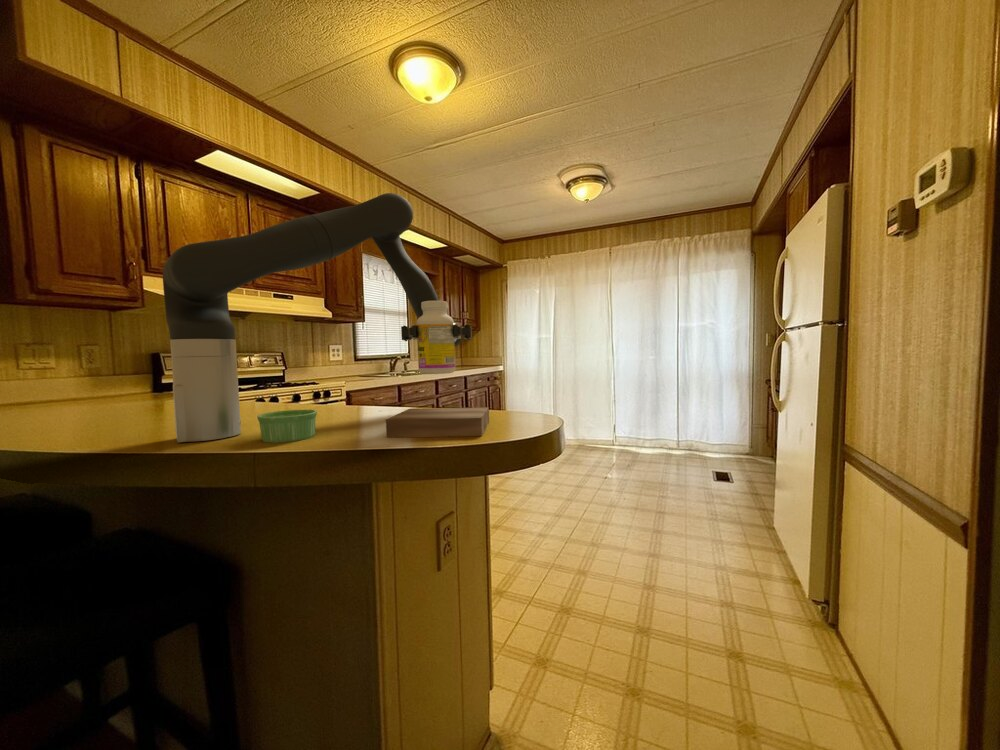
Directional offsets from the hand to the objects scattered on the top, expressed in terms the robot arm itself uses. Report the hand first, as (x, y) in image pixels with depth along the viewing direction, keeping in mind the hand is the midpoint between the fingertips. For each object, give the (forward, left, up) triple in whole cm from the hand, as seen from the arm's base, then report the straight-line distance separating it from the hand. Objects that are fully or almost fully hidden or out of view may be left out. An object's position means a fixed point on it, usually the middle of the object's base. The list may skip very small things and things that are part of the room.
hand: (435, 330), depth 69 cm
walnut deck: (+1, +1, -18) cm, 18 cm away
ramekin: (-21, +15, -18) cm, 31 cm away
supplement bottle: (+1, +2, -8) cm, 8 cm away
